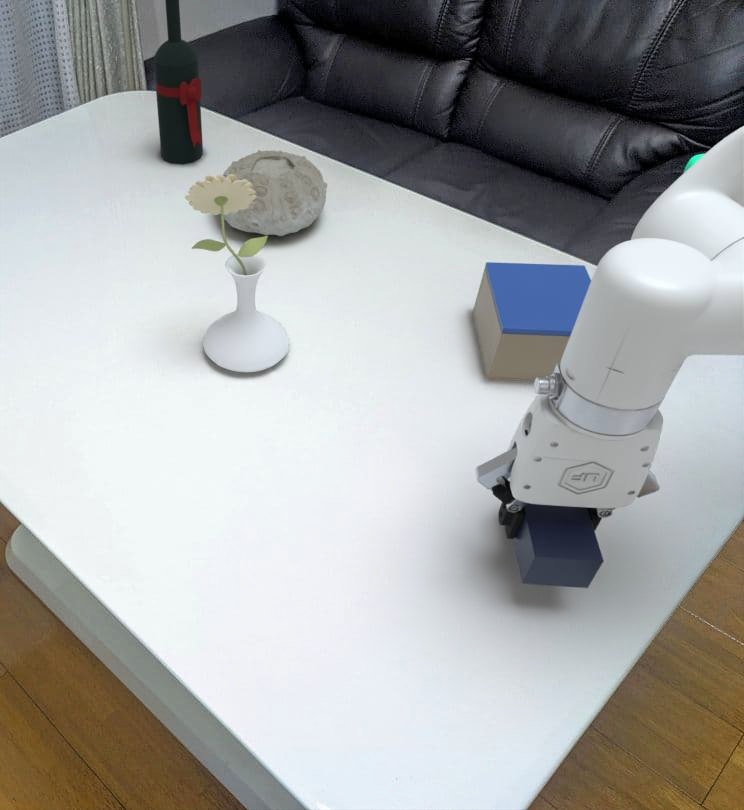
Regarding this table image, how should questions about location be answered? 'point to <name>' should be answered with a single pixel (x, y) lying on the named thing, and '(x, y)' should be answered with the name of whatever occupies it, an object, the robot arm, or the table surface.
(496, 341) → the container
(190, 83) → the wine bottle
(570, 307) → the container lid
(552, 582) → the case
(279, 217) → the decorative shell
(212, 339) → the flower in vase
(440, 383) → the table surface
